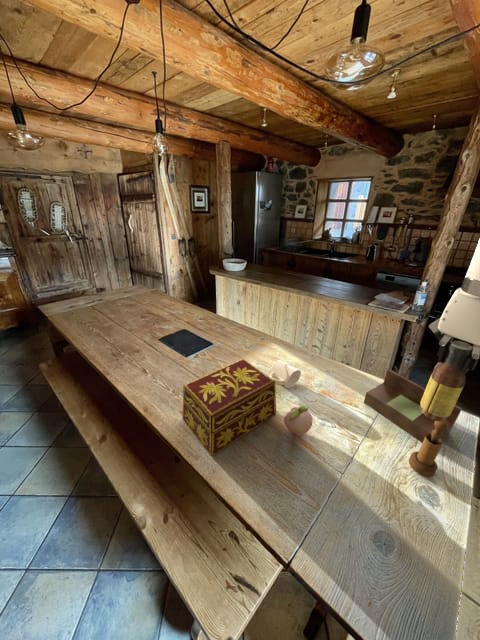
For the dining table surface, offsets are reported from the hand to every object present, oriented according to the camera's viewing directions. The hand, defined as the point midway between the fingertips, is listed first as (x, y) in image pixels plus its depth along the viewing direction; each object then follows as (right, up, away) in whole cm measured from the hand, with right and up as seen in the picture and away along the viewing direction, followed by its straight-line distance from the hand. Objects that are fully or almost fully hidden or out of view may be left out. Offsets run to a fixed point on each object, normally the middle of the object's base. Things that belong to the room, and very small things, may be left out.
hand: (453, 364), depth 60 cm
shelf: (+10, -24, +35) cm, 44 cm away
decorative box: (-52, -24, +33) cm, 66 cm away
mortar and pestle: (+5, -33, +18) cm, 37 cm away
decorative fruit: (-29, -27, +28) cm, 49 cm away
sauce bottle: (0, -13, +7) cm, 15 cm away
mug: (-31, -16, +51) cm, 61 cm away
